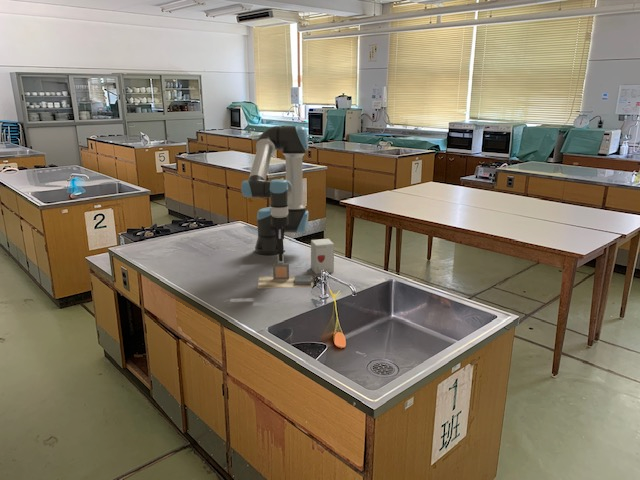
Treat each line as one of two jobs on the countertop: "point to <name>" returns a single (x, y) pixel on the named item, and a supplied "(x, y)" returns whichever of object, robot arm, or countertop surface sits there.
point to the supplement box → (322, 255)
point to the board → (280, 282)
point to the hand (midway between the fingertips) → (280, 267)
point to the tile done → (303, 280)
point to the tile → (281, 271)
